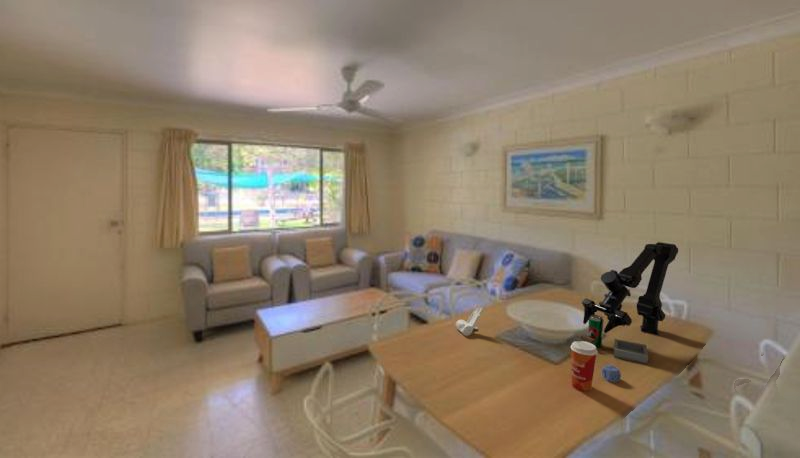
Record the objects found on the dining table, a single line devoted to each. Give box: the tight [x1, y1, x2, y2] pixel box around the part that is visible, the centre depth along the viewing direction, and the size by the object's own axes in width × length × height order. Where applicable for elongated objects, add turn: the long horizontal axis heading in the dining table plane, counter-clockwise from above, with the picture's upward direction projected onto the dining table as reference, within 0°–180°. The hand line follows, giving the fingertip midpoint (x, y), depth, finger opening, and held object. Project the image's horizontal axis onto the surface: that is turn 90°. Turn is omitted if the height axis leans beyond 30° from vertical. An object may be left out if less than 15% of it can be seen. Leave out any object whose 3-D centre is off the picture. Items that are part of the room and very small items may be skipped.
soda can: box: [587, 314, 604, 348], centre depth 142 cm, size 5×5×12 cm
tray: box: [613, 338, 649, 365], centre depth 135 cm, size 10×10×3 cm
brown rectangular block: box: [579, 334, 595, 345], centre depth 141 cm, size 2×5×4 cm, turn 23°
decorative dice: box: [601, 364, 622, 383], centre depth 119 cm, size 4×4×4 cm
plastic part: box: [455, 303, 484, 337], centre depth 156 cm, size 8×10×12 cm
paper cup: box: [570, 340, 599, 393], centre depth 114 cm, size 8×8×14 cm
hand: (594, 327), depth 142 cm, fingers open, 9 cm apart
